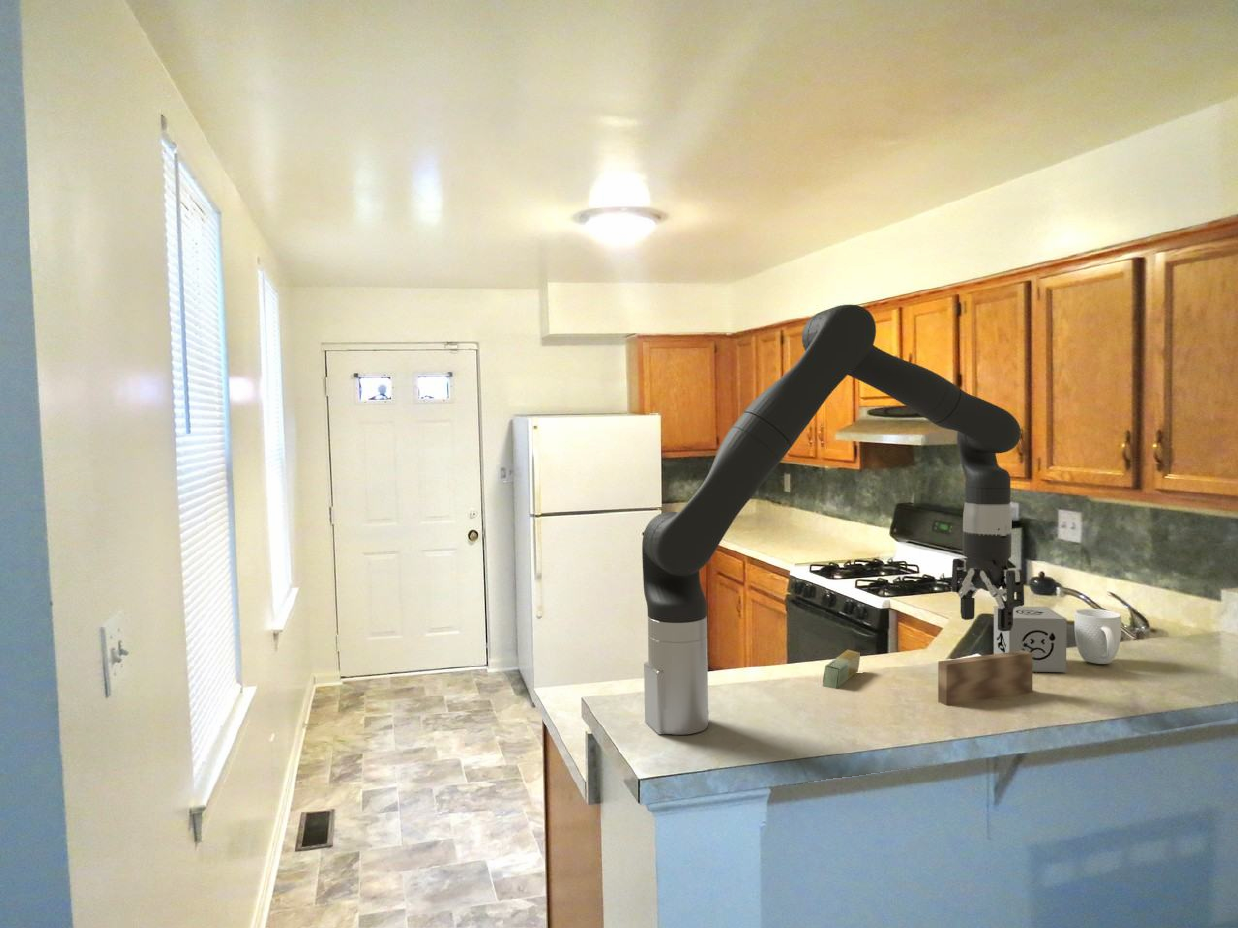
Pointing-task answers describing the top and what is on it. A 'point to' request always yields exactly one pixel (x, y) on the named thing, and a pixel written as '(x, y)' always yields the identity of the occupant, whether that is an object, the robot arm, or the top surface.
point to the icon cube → (1035, 637)
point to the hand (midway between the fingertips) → (985, 624)
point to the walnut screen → (984, 677)
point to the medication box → (841, 669)
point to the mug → (1097, 634)
